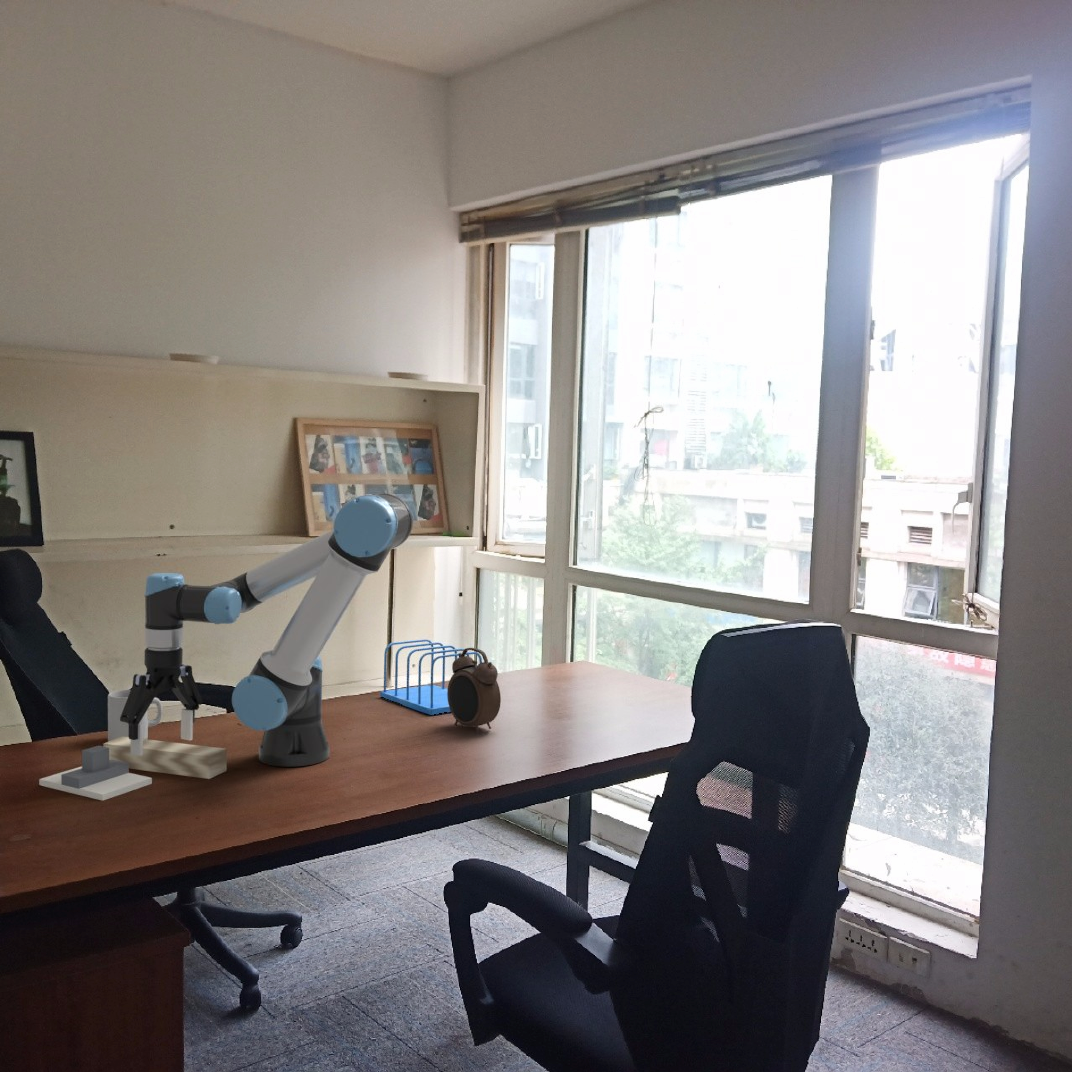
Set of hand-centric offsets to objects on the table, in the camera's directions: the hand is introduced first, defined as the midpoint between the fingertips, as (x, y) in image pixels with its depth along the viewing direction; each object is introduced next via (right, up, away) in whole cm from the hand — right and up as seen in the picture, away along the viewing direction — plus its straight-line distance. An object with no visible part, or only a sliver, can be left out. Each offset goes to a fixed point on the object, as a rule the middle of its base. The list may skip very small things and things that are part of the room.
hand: (162, 746), depth 222 cm
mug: (-14, -3, +21) cm, 25 cm away
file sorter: (+51, -1, +63) cm, 81 cm away
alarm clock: (+63, -3, +36) cm, 73 cm away
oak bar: (0, -5, 0) cm, 5 cm away
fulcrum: (-9, -5, -12) cm, 16 cm away
